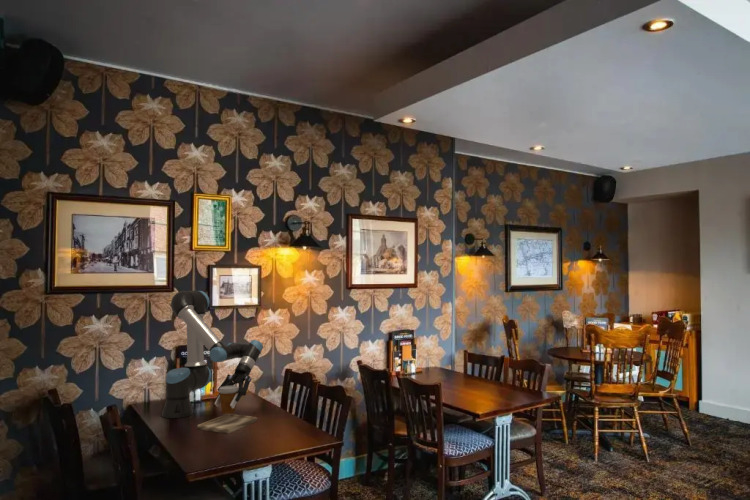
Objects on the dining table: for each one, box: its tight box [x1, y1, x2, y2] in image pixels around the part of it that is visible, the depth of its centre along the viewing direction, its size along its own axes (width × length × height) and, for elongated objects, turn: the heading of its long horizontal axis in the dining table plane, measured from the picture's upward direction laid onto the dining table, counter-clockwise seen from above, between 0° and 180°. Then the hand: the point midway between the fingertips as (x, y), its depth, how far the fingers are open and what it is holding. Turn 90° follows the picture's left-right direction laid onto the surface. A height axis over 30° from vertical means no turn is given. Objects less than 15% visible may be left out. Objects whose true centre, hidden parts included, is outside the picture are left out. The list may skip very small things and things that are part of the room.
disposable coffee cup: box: [218, 385, 238, 415], centre depth 251 cm, size 10×10×12 cm
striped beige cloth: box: [197, 413, 258, 435], centre depth 250 cm, size 18×22×2 cm
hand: (224, 405), depth 248 cm, fingers closed on disposable coffee cup, 9 cm apart
